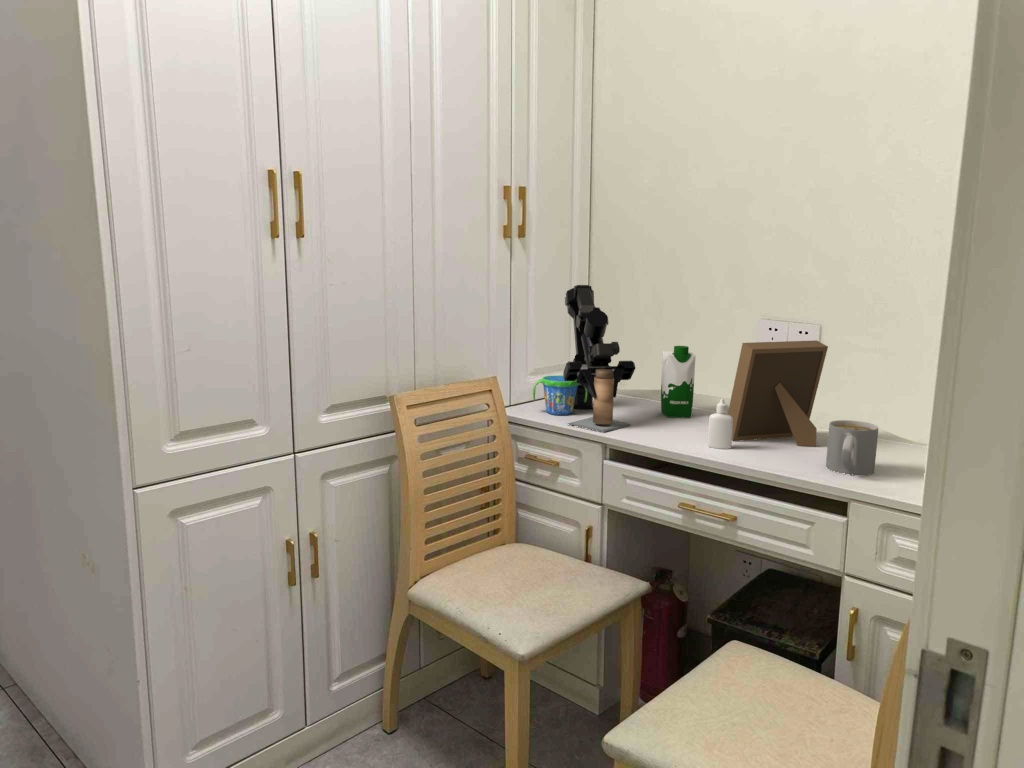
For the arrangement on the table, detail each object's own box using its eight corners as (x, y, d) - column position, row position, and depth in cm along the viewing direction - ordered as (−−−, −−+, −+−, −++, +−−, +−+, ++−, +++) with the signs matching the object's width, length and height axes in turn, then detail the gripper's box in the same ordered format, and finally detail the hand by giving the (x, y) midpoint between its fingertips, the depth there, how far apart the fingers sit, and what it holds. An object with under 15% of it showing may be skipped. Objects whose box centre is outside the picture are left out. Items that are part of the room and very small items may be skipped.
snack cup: (586, 410, 236) (588, 375, 235) (586, 418, 226) (587, 382, 224) (533, 408, 238) (534, 374, 236) (530, 416, 228) (531, 380, 226)
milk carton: (664, 418, 227) (667, 347, 224) (657, 411, 236) (660, 343, 232) (695, 418, 227) (699, 347, 224) (687, 411, 236) (690, 343, 233)
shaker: (596, 419, 219) (598, 367, 216) (614, 421, 216) (616, 369, 214) (590, 423, 214) (591, 370, 211) (609, 425, 212) (611, 372, 209)
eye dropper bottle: (714, 443, 200) (717, 395, 198) (734, 448, 196) (737, 399, 194) (704, 446, 197) (707, 398, 195) (724, 451, 193) (727, 401, 191)
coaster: (567, 425, 217) (567, 422, 217) (594, 418, 226) (594, 416, 226) (603, 432, 209) (603, 430, 209) (630, 425, 218) (630, 423, 218)
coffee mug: (835, 460, 186) (839, 418, 184) (880, 469, 180) (884, 425, 178) (812, 472, 176) (816, 427, 174) (859, 482, 170) (864, 435, 168)
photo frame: (723, 437, 206) (729, 340, 202) (794, 431, 213) (802, 337, 209) (758, 452, 193) (765, 347, 188) (833, 445, 199) (842, 345, 195)
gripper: (567, 331, 213) (577, 380, 204) (634, 330, 216) (647, 378, 208) (559, 356, 222) (568, 404, 213) (624, 355, 225) (635, 402, 217)
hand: (605, 396), depth 213 cm, fingers closed on shaker, 5 cm apart
